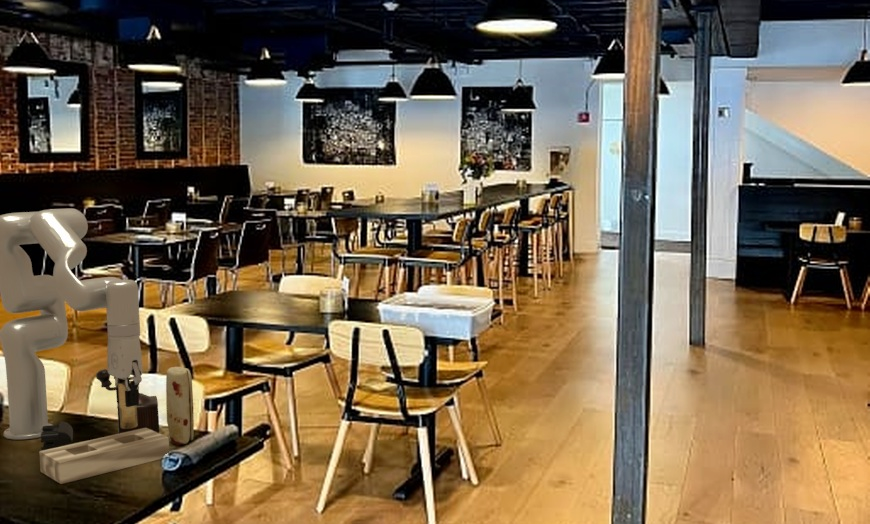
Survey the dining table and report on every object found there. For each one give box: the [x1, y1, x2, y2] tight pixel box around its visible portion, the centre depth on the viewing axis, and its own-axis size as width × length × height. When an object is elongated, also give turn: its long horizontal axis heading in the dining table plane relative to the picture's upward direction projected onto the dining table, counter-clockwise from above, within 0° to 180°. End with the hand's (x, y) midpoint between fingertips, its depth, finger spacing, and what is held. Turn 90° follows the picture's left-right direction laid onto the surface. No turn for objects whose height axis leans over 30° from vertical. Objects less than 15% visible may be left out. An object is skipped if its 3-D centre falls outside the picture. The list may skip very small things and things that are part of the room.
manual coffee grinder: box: [95, 368, 160, 434], centre depth 245 cm, size 16×11×18 cm
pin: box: [118, 380, 138, 429], centre depth 226 cm, size 4×4×11 cm
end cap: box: [40, 421, 74, 451], centre depth 233 cm, size 10×7×7 cm
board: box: [38, 428, 170, 485], centre depth 223 cm, size 12×27×5 cm, turn 134°
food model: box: [165, 366, 195, 446], centre depth 239 cm, size 10×7×20 cm
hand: (127, 403), depth 226 cm, fingers closed on pin, 4 cm apart
